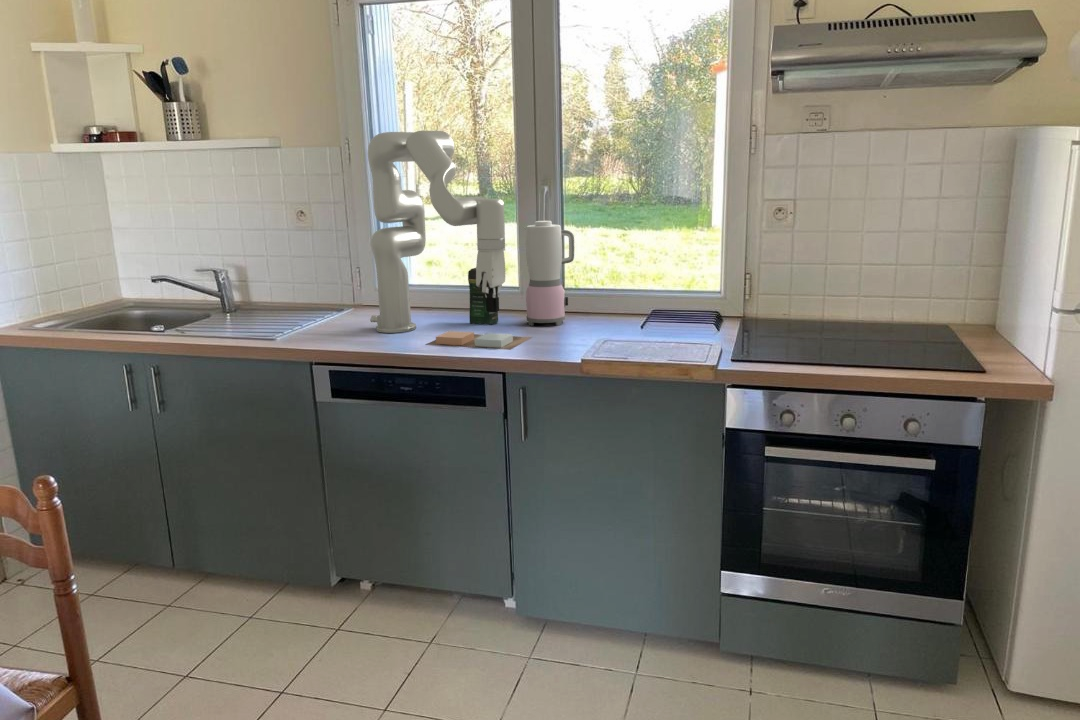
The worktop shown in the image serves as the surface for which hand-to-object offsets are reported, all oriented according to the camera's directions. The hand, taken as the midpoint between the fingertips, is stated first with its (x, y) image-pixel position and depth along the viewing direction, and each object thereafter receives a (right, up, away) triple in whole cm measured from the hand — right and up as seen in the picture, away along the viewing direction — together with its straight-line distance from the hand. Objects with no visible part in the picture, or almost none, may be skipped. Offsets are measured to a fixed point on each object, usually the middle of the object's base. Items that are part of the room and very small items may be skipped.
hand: (492, 311), depth 226 cm
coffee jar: (-5, -2, +34) cm, 35 cm away
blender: (+17, -2, +33) cm, 37 cm away
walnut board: (-4, -9, +6) cm, 12 cm away
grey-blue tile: (+2, -7, +4) cm, 8 cm away
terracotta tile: (-9, -6, +8) cm, 14 cm away
